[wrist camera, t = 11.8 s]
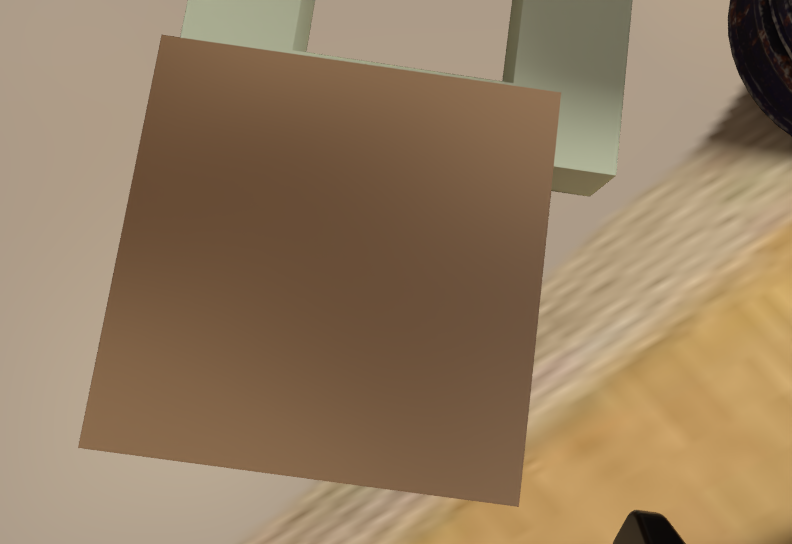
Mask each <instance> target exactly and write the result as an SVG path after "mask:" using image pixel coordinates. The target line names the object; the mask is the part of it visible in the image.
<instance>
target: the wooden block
mask: <svg viewBox="0 0 792 544" xmlns="http://www.w3.org/2000/svg"><path fill="white" fill-rule="evenodd" d="M560 100H561V92H554V91H547V90H541V89H534V88H527V87H520V86H513V85H506V84H499V83H492V82H485V81H478V80H471V79H464V78H457V77H450V76H444V75H437V74H430V73H423V72H416V71H409V70H402V69H395V68H388V67H381V66H374V65H367V64H360V63H354V62H347V61H340V60H333V59H326V58H319V57H312V56H305V55H298V54H291V53H284V52H277V51H270V50H263V49H257V48H250V47H243V46H236V45H229V44H222V43H215V42H208V41H201V40H194V39H187V38H180V37H173V36H166V35H162V36H161V41H160V46H159V51H158V56H157V61H156V66H155V70H154V76H153V80H152V85H151V90H150V95H149V100H148V105H147V110H146V115H145V120H144V125H143V130H142V135H141V140H140V145H139V150H138V155H137V160H136V164H135V170H134V175H133V180H132V184H131V189H130V194H129V199H128V204H127V209H126V214H125V219H124V224H123V229H122V233H121V238H120V244H119V248H118V253H117V258H116V263H115V269H114V273H113V278H112V284H111V288H110V293H109V298H108V303H107V308H106V313H105V318H104V323H103V328H102V333H101V338H100V342H99V347H98V352H97V357H96V362H95V367H94V372H93V377H92V382H91V388H90V392H89V397H88V402H87V407H86V412H85V416H84V422H83V426H82V432H81V437H80V441H79V447H78V448H84V449H91V450H99V451H107V452H114V453H121V454H129V455H136V456H143V457H151V458H159V459H166V460H173V461H181V462H188V463H196V464H204V465H211V466H218V467H226V468H233V469H240V470H248V471H255V472H263V473H270V474H278V475H286V476H293V477H301V478H308V479H315V480H323V481H330V482H337V483H345V484H352V485H360V486H367V487H375V488H382V489H390V490H397V491H405V492H412V493H420V494H427V495H434V496H442V497H449V498H457V499H464V500H472V501H479V502H487V503H494V504H502V505H509V506H517V507H519V499H520V490H521V480H522V470H523V460H524V451H525V441H526V431H527V421H528V412H529V402H530V392H531V382H532V373H533V363H534V353H535V344H536V334H537V324H538V314H539V305H540V295H541V285H542V275H543V266H544V256H545V246H546V236H547V227H548V216H549V207H550V198H551V188H552V178H553V168H554V159H555V149H556V139H557V129H558V120H559V110H560Z"/></svg>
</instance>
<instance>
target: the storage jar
mask: <svg viewBox="0 0 792 544" xmlns="http://www.w3.org/2000/svg"><path fill="white" fill-rule="evenodd" d="M728 36H729V42H730V46H731V52H732V56H733V59H734V62H735V65H736V67H737V70H738V73H739V75H740V77H741V79H742V81H743V83H744V85H745V86H746V88H747V90H748V92H749V93H750V95H751V96H752V98H753V99H754V100H755V102H756V103H757V104H758V106H759V107H760V108H761V110H762V111H763V112H764V113H765V114H766V115H767V116H768V117H769V118H770V119H771V120H772V121H773V122H774V123H775V124H776V125H778V126H779V127H780V128H782V129H783V130H784V131H786V132H787V133H788V134H790V135H791V136H792V0H730V6H729V13H728Z"/></svg>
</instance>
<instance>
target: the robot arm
mask: <svg viewBox="0 0 792 544" xmlns="http://www.w3.org/2000/svg"><path fill="white" fill-rule="evenodd" d="M613 544H686V543H685V542H684V541H683V539H682V538H681V537H680V535H679V534H678V533H677V531H676V530H675V529H674V527H673V526H672V525H671V523H670V522H669V521H668V520H667V518H665V517H664V516H663V515H661V514H659V513H656V512H649V511H641V510H634V511H632V512H630V513H629V515H628V516H627V518H626V520H625V522H624V524H623V525H622V527H621V529H620V531H619V532H618V534H617V536H616V538H615V540H614V542H613Z"/></svg>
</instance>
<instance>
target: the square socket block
mask: <svg viewBox="0 0 792 544" xmlns="http://www.w3.org/2000/svg"><path fill="white" fill-rule="evenodd" d="M314 3H315V0H188V1H187V6H186V11H185V16H184V21H183V26H182V31H181V36H180V38H187V39H194V40H201V41H208V42H215V43H222V44H229V45H236V46H243V47H250V48H257V49H263V50H270V51H277V52H284V53H291V54H298V55H305V56H312V57H319V58H326V59H333V60H340V61H347V62H354V63H360V64H367V65H374V66H381V67H388V68H395V69H402V70H409V71H416V72H423V73H430V74H437V75H444V76H450V77H457V78H464V79H471V80H478V81H485V82H492V83H499V84H506V85H513V86H520V87H527V88H534V89H541V90H547V91H554V92H561V100H560V110H559V120H558V129H557V139H556V149H555V159H554V168H553V178H552V188H551V191H556V192H562V193H570V194H577V195H583V196H591V195H592V194H594V193H595V192H596V191H597V190H598V189H600V188H601V187H602V186H604V185H605V184H606V183H607V182H609V181H610V180H611V179H612V178H613V177H615V176H616V170H617V160H618V149H619V138H620V128H621V117H622V106H623V95H624V85H625V74H626V63H627V52H628V42H629V31H630V20H631V10H632V0H512V8H511V17H510V24H509V32H508V41H507V49H506V56H505V65H504V73H503V81H495V80H488V79H482V78H476V77H469V76H462V75H455V74H448V73H442V72H435V71H428V70H422V69H415V68H408V67H401V66H395V65H388V64H382V63H375V62H368V61H361V60H355V59H348V58H341V57H334V56H328V55H322V54H315V53H308V52H306V50H307V45H308V38H309V33H310V27H311V21H312V15H313V9H314Z"/></svg>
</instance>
